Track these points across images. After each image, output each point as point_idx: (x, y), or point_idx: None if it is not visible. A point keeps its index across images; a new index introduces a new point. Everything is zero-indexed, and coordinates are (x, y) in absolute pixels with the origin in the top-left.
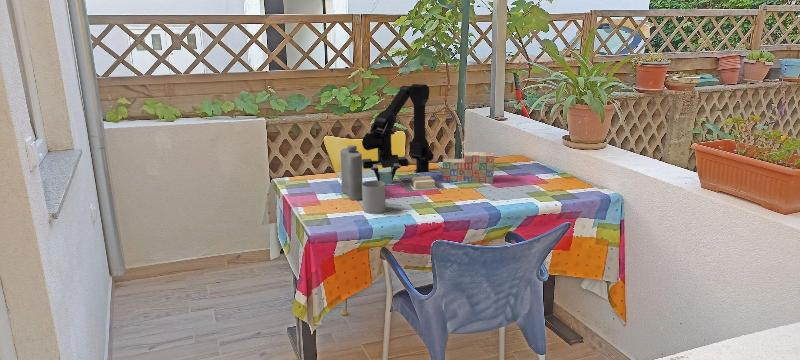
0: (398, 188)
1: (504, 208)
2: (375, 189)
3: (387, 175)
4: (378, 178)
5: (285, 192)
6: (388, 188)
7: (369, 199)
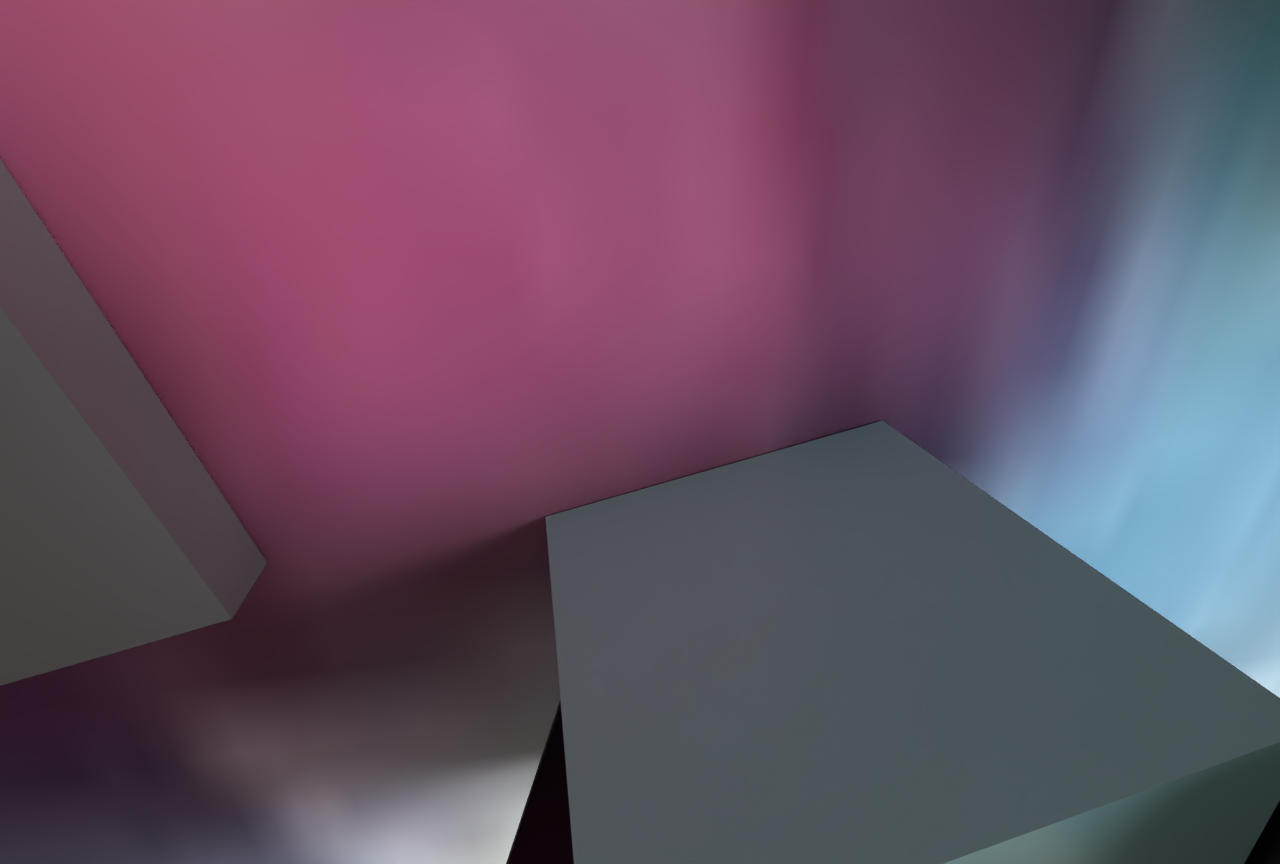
0: (261, 250)
1: None
2: None
3: (859, 832)
4: None
5: None
6: (654, 257)
7: None
